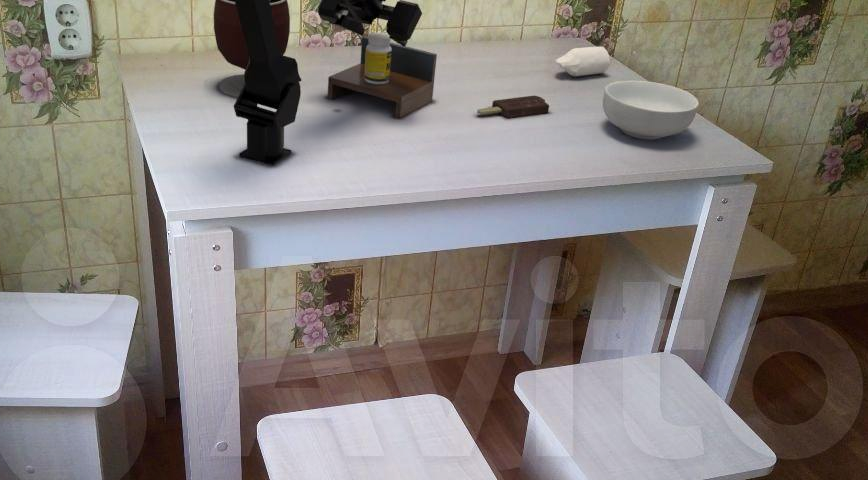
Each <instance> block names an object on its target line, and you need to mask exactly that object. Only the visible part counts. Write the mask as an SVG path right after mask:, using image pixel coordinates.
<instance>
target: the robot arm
mask: <svg viewBox="0 0 868 480" xmlns="http://www.w3.org/2000/svg"><path fill="white" fill-rule="evenodd" d="M386 1H387V0H320V2H319V4H318V6H317V14H318V16H319V18H320V19H321V20H322V21H324V22H328V24H331V25H333V26H336V27H339V28H341V29H345V30H347V31H349V32H352V33H354V34H356V35H359V36H361V37H364V34H365V33H366V31H365V27H364V24H366V25H370V26H372V24H373V22H374V21H375V20H377V19H379V20H383V21H387V22H386V25H385V26H386V27H385V28H386V29H385V31H386V32H385V33H386V34H388V35H390V36H389V38H390V39H391V40H392V41H394V43H396V44H398V45H402V46H406V47H407V44H408V42H409V40H410V39H411V38H412V36H413V34H414V32H415V30H416V28H417V25H418V23H419V22H420V19H421V17H422V15H423V12H422V10H421V8H420V5H419V3H416V2H411V1H407V0H398V1H396V3H395V6H392V5H388V4H383V3H384V2H386ZM235 4H236V8H237V12H238V16H239V20H240V24H241V28H242V31H243V35H244V39H245V43H246V47H247V51H248V55H249V64H248V66H247V68H246V71H245V70H244V72H245V73H243V74H244V79H245V85H244V87H243V89H242V91H241V93H240V95H239V96H238V98H237V97H236V100H235V102H234V104H233V110H234V114H235V117H237V118H242V119H245V120H247V122H246V148H245V149H244V150H242V151H241V152H239V153H238V157H239V158H241V159H246V160H248V161H249V160H250V161H253V162H256V163H261V164H263V165H267V166H274V165H276V164H277V163H279V162H280V161H282V160H283V159H285V158H287V157H288V156H290V155H291V154H293V153H292V152H293V151H292V149H289V148H286V147H284V146H285V127H286V126H287V127H288V126H289V125H291V124H293V123H295V122H296V119H297V114H298V110H299V109H298V108H299V105H300V100H301V95H302V91H301V84H300V82H302V78H301V76H300V74H299V66H298V62H297V60H296V58H294V57H291V56H286V55H282V54H281V51H280V47H279V42H278V38H277V33H276V29H275V24H274V20H273V16H272V11H271V7H270V2H269V0H235ZM258 105H260V106H258ZM261 106H262V107H261ZM263 106H264V107H267V108H270V109H267V108H264V107H263ZM271 109H274V110H271ZM275 110H276V111H275Z"/></svg>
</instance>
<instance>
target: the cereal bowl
mask: <svg viewBox="0 0 868 480" xmlns="http://www.w3.org/2000/svg"><path fill="white" fill-rule="evenodd" d="M698 108H699V100H698V98H697V97H696V96H695V95H693V94H691V93H690V92H688V91H686V90H685V89H682V88H679V87H677V86H673V85H669V84H665V83H660V82H654V81H646V80H631V79H629V80H619V81H613V82H611V83H608V84H607V85H606V86H605V88H604V92H603V97H602V109H603V112H604V115H605V116H606V118H607V119H608V120H609V121H610V122H611V123H612V124H613V125H614V126H616V127H618V128H619V129H620V130H621V131H622V132H623V133H624V134H626V135H627V136H629V137H632V138H637V139H639V140H641V139H642V140H649V141H650V140H652V141H653V140H659V139H663V138H665V137H670V136H674V135H677V134H680V133H682V132H683V131H685V130H686V129H687V128H688V127H690V125H691V124H692V123H693V122H694V120H695V117H696V115H697V113H698Z"/></svg>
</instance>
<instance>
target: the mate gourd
mask: <svg viewBox="0 0 868 480" xmlns="http://www.w3.org/2000/svg"><path fill="white" fill-rule="evenodd" d="M269 2H270V7H271V11H272V16H273V20H274V24H275V29H276V33H277V38H278V42H279V47H280V51H281V54H282V55H283V56H285V53H286V51H287V48H288V44H289V38H290V32H291V16H290V8H289V3H288V0H269ZM213 32H214V36H215V37H214V38H215V44H216V47H217V50H218V51H219V53H220V54H221V55H222V57H223V58H224V60H225V61H226V63H228V64H229V65H232V66H235V67H237V68H240V69H242V70H244V73H245V71H246V68H247V66H248V64H249V55H248V51H247V47H246V43H245V39H244V35H243V31H242V28H241V24H240V20H239V16H238V12H237V8H236V4H235V0H215V1H214V8H213ZM244 73H243V74H242V73H241V74H235V75H231V76H228V77H225V78H223V79H222V80H221V81H220V82H219V90H220V91H221V92H222V93H223V94H225V95H227V96H230V97H233V98H236V99H237V98H238V96H239V95H240V93H241V91H242V89H243V87H244V85H245V79H244Z"/></svg>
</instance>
